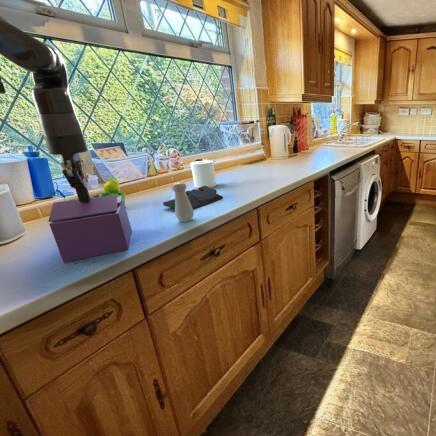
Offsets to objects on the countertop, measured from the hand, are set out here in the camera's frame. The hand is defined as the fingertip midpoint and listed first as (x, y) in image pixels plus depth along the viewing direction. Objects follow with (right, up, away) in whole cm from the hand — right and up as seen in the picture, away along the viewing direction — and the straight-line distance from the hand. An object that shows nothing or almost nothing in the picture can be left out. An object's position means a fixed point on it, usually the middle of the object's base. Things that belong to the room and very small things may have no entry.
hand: (85, 201), depth 79 cm
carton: (-1, -12, +7) cm, 14 cm away
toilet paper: (+2, +12, +73) cm, 74 cm away
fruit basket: (-23, 0, +43) cm, 49 cm away
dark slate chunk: (+9, +2, +45) cm, 45 cm away
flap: (+1, -2, -1) cm, 2 cm away
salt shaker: (+15, -5, +24) cm, 29 cm away
